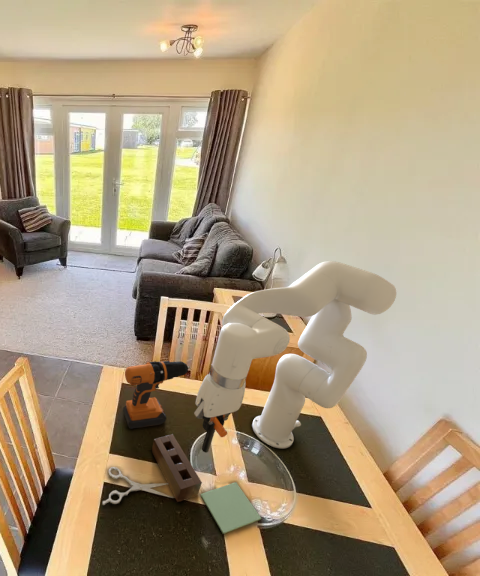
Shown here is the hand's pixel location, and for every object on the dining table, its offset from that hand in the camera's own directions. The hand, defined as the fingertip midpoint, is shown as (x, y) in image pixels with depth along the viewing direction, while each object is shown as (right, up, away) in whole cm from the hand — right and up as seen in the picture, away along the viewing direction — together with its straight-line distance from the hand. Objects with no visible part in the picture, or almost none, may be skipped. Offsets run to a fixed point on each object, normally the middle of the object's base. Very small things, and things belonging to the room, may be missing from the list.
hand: (211, 428), depth 80 cm
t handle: (0, -7, +4) cm, 8 cm away
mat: (+7, -24, +6) cm, 26 cm away
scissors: (-18, -21, +9) cm, 29 cm away
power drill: (-10, -10, +32) cm, 35 cm away
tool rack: (-6, -19, +14) cm, 25 cm away
